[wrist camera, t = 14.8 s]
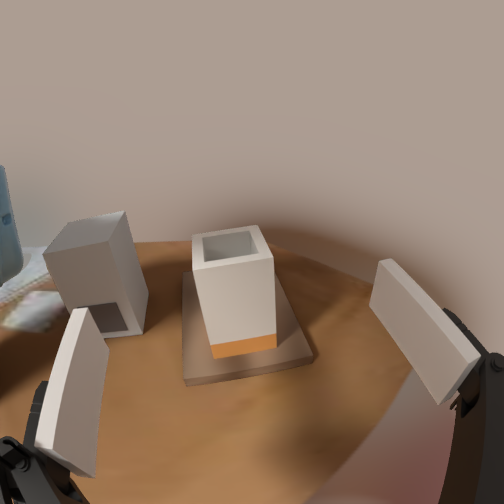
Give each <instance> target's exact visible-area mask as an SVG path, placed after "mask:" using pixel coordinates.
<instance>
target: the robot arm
mask: <svg viewBox="0 0 504 504" xmlns="http://www.w3.org/2000/svg"><path fill="white" fill-rule="evenodd" d="M22 267H23V254H22V250H21V245H20V241H19V237H18V233H17V229H16V225H15V220H14V215H13V210H12V206H11V201H10V195H9V190H8V184H7V179H6V173H5V168H4V167H3V166H2V165H0V287H1V286H2V285H3V283H5V282H6V281H8V280H10V279H11V278H13V277H14V276H16V275H18V274H19V273H20V271H21V270H22ZM369 307H370V308H371V309H372V311H373V312H374V313H375V315H376V316H377V317H378V319H379V320H380V321H381V323H382V324H383V326H384V327H385V328H386V330H387V331H388V333H389V334H390V335H391V337H392V338H393V340H394V341H395V342H396V344H397V345H398V347H399V348H400V350H401V351H402V352H403V354H404V355H405V357H406V358H407V360H408V361H409V363H410V364H411V366H412V367H413V368H414V370H415V371H416V373H417V374H418V376H419V377H420V379H421V380H422V382H423V383H424V385H425V386H426V388H427V389H428V391H429V393H430V394H431V396H432V397H433V399H434V400H435V402H436V404H437V405H440V404H442V403H443V402H445V401H447V400H448V399H450V398H451V397H452V396H453V394H454V393H455V392H456V391H457V390H458V392H459V393H460V395H459V396H458V397H457V398H456V399H455V401H454V402H453V403H452V404H451V406H450V409H451V410H452V409H453V407H454V406H455V405H456V404H457V407H456V408H455V410H456V419H455V427H454V434H453V440H452V446H451V452H450V457H449V463H448V467H447V472H446V476H445V481H444V485H443V488H442V492H441V496H440V499H439V503H438V504H504V356H502V355H501V354H498V353H489V352H487V351H486V349H485V348H484V347H483V346H482V344H481V343H480V342H479V341H478V340H477V338H476V337H475V336H474V335H473V334H472V333H471V332H470V330H468V329H467V327H466V326H465V325H464V324H462V321H461V320H460V319H459V318H458V317H457V316H456V315H455V314H454V313H452V312H451V311H449V310H448V309H446V308H444V309H441V308H440V307H439V306H438V305H437V304H436V303H435V302H434V301H433V300H432V299H431V298H430V297H429V295H427V293H425V291H424V290H423V289H422V288H421V287H420V286H419V285H418V284H417V283H416V282H415V281H414V280H413V279H412V278H411V277H410V276H409V275H408V274H407V273H406V272H405V271H404V270H403V269H402V268H401V267H400V266H399V265H398V264H397V263H396V262H395V261H394V260H393V259H392V258H390V259H385V260H380V261H379V262H378V267H377V272H376V277H375V281H374V286H373V290H372V295H371V299H370V303H369ZM109 352H110V350H109V348H108V346H107V344H106V342H105V341H104V339H103V337H102V335H101V333H100V331H99V329H98V327H97V325H96V323H95V321H94V319H93V317H92V315H91V313H90V311H89V309H88V307H87V308H78V309H73V311H72V314H71V316H70V319H69V322H68V324H67V327H66V330H65V333H64V335H63V338H62V341H61V344H60V347H59V350H58V353H57V356H56V359H55V362H54V365H53V369H52V372H51V376H50V379H49V381H42V382H41V383H40V385H39V386H38V388H37V389H36V391H35V395H34V398H33V404H32V406H31V410H30V411H31V413H30V414H29V418H28V422H27V427H26V431H25V436H24V441H23V445H22V444H20V443H19V442H18V441H17V440H15V439H14V438H12V437H9V436H5V437H3V438H1V439H0V504H13V503H12V499H13V501H14V504H90V503H89V502H88V501H87V499H86V498H85V497H84V495H83V494H82V492H81V491H80V490H79V488H78V487H77V485H76V484H75V482H74V481H73V480H72V479H71V478H70V471H71V472H72V473H74V474H76V475H77V476H81V477H88V478H95V470H96V452H97V439H98V428H99V418H100V410H101V402H102V394H103V387H104V381H105V375H106V369H107V363H108V357H109ZM11 498H12V499H11Z"/></svg>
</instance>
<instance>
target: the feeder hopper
mask: <svg viewBox="0 0 504 504" xmlns="http://www.w3.org/2000/svg"><path fill="white" fill-rule="evenodd" d="M42 255H43V257H44V260H45V262H46V264H47V267H48V269H49V272H50V274H51V276H52V278H53V281H54V283H55V285H56V287H57V289H58V292H59V294H60V296H61V298H62V300H63V302H64V304H65V306H66V308H67V310H68V312H69V314H70V316H71V314H72V311H73V309H78V308H87V307H88V309H89V311H90V313H91V315H92V317H93V319H94V321H95V323H96V325H97V327H98V329H99V331H100V333H101V335H102V337H103V338H113V337H123V336H132V335H141V334H143V329H144V322H145V315H146V308H147V302H148V296H149V292H148V289H147V286H146V283H145V279H144V276H143V273H142V270H141V267H140V263H139V260H138V257H137V253H136V250H135V246H134V243H133V239H132V236H131V232H130V228H129V224H128V220H127V217H126V212H125V211H120V212H116V213H110V214H105V215H101V216H97V217H92V218H87V219H83V220H79V221H74V222H70V223H68V224H67V225H66V226H65V227H64V228H63V230H62V231H61V232H60V233H59V234H58V236H57V237H56V238H55V239H54V240H53V242H52V243H51V244H50V245H49V247H48V248H47V249H46V250H45V252H44V253H43V254H42Z"/></svg>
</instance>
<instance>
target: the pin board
mask: <svg viewBox="0 0 504 504" xmlns="http://www.w3.org/2000/svg"><path fill="white" fill-rule="evenodd" d="M274 282H275V309H276V340H277V348H273V349H268V350H263V351H257V352H252V353H247V354H241V355H236V356H230V357H224V358H217V359H214V357H213V354H212V350H211V346H210V342H209V338H208V334H207V330H206V326H205V322H204V318H203V314H202V310H201V306H200V301H199V297H198V293H197V288H196V284H195V279H194V275H193V271H187V272H183V283H182V349H183V379H184V382H185V384H186V386H194V385H202V384H209V383H216V382H222V381H228V380H234V379H240V378H246V377H251V376H256V375H261V374H266V373H271V372H276V371H281V370H285V369H289V368H294V367H298V366H302V365H306V364H310V363H312V362H313V353H312V351H311V349H310V347H309V345H308V342H307V340H306V338H305V336H304V334H303V332H302V329H301V327H300V325H299V323H298V321H297V318H296V316H295V314H294V312H293V310H292V308H291V305H290V303H289V301H288V299H287V297H286V295H285V293H284V290H283V288H282V286H281V284H280V282H279V280H278V277H277V275H276V273H275V271H274Z"/></svg>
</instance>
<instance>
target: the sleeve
mask: <svg viewBox="0 0 504 504" xmlns="http://www.w3.org/2000/svg"><path fill="white" fill-rule="evenodd" d="M192 268H193V275H194V279H195V284H196V288H197V293H198V297H199V301H200V306H201V310H202V314H203V318H204V322H205V326H206V330H207V334H208V338H209V342H210V346H211V350H212V354H213V357H214V359H217V358H224V357H230V356H236V355H241V354H247V353H252V352H257V351H263V350H268V349H273V348H277V340H276V309H275V282H274V258H273V255H272V253H271V251H270V249H269V247H268V245H267V243H266V241H265V239H264V238H263V235H262V233H261V231H260V230H259V227H258V226H257V225H254V226H246V227H240V228H233V229H226V230H220V231H214V232H207V233H201V234H194V235H192Z"/></svg>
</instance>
